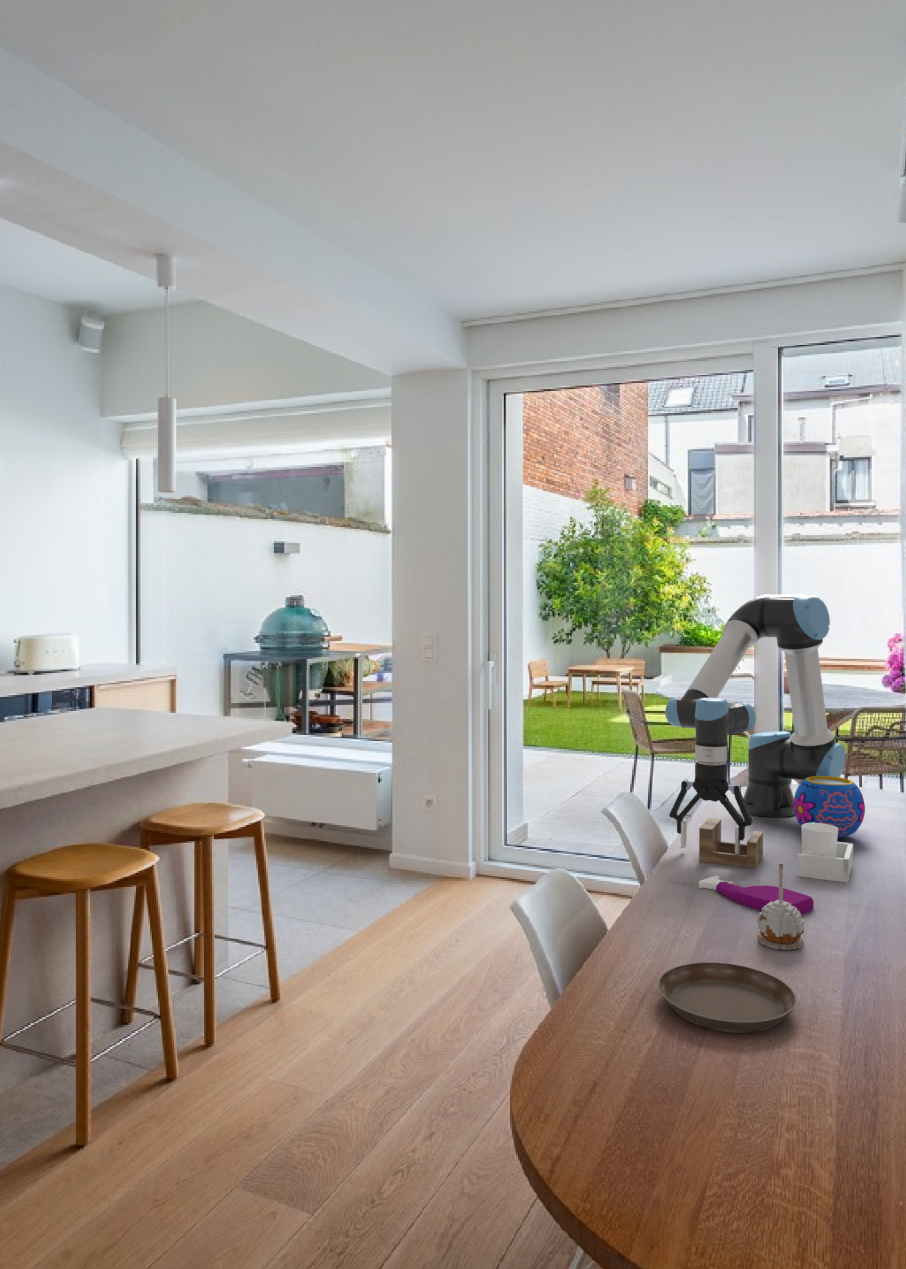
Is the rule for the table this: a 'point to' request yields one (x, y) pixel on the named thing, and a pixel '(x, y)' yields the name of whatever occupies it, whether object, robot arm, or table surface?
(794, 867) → the table surface
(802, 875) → the box
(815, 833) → the white cup
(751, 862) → the wooden cradle stand
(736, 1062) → the table surface
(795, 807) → the ceramic pot
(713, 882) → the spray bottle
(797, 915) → the candy apple
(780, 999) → the plant saucer
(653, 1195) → the table surface
